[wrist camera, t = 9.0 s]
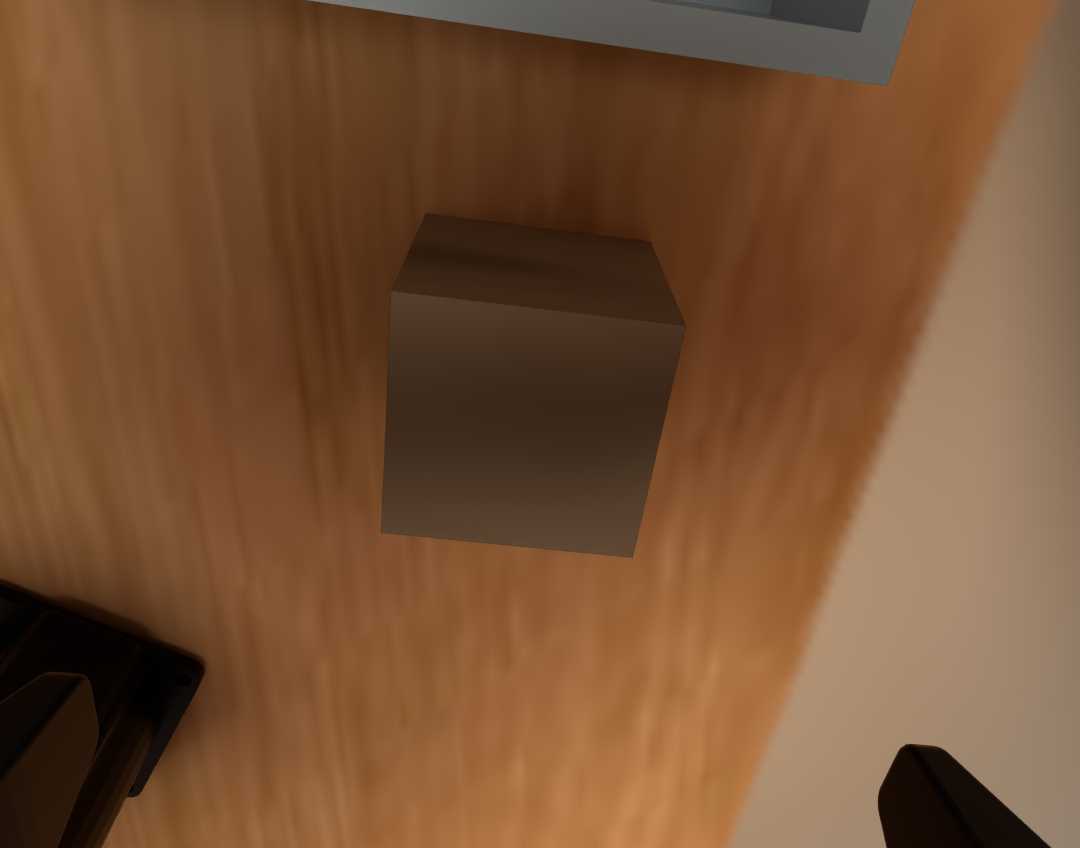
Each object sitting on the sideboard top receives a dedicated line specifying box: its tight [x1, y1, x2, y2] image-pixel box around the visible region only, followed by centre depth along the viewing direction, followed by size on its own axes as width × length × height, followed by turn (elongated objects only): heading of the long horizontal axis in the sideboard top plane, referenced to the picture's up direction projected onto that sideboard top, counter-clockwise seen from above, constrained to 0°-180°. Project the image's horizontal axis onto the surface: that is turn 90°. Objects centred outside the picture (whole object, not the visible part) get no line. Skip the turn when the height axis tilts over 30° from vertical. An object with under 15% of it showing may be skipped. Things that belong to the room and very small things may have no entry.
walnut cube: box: [381, 214, 686, 558], centre depth 17 cm, size 5×5×5 cm
